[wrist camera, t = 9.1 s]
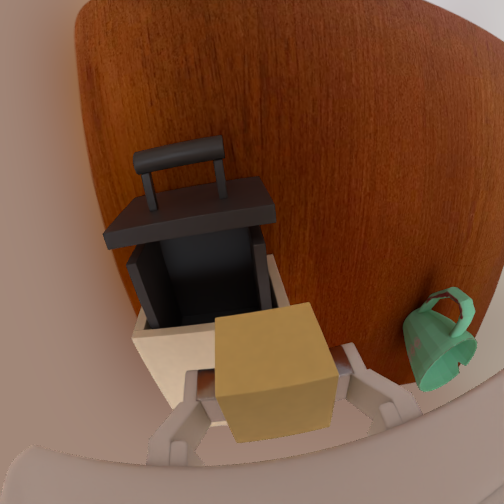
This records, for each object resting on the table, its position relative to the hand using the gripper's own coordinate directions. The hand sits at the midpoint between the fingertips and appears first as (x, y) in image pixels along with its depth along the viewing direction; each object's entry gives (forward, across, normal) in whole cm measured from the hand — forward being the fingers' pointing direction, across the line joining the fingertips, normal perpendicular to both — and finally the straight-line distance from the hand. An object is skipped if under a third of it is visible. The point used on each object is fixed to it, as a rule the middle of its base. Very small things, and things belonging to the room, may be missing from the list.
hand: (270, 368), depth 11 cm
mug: (+18, -23, +17) cm, 33 cm away
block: (+2, 0, 0) cm, 2 cm away
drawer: (+16, +4, +1) cm, 17 cm away
